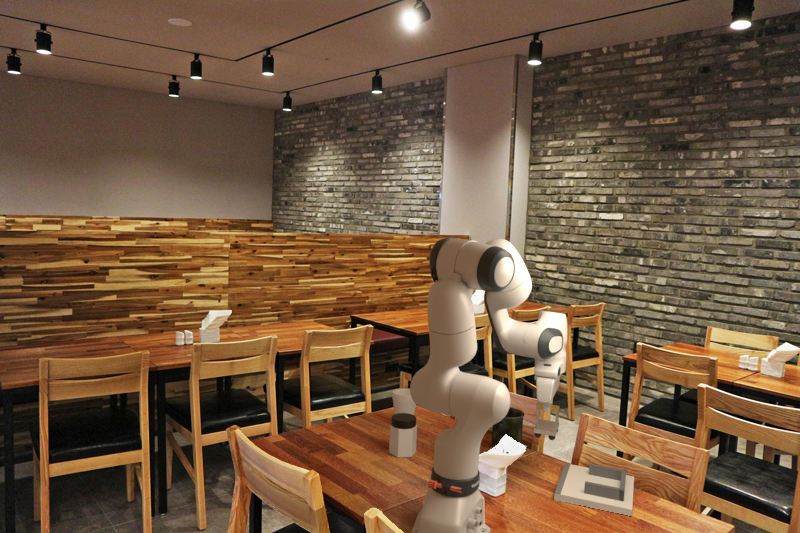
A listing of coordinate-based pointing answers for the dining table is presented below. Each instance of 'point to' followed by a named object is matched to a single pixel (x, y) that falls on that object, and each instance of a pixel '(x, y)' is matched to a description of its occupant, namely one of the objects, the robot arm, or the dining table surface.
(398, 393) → the foam cup
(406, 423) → the jar
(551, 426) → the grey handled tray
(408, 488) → the dining table surface
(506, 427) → the mug
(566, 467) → the dock
